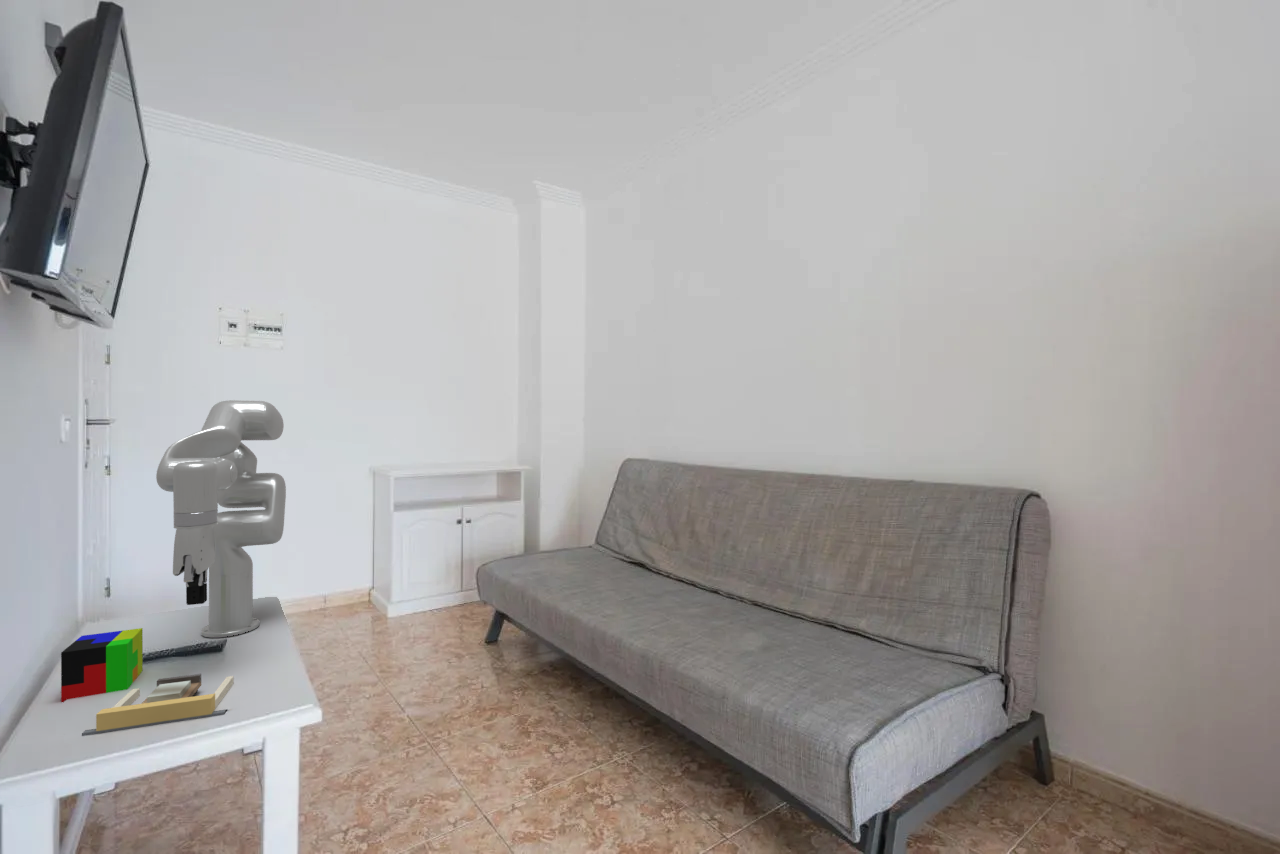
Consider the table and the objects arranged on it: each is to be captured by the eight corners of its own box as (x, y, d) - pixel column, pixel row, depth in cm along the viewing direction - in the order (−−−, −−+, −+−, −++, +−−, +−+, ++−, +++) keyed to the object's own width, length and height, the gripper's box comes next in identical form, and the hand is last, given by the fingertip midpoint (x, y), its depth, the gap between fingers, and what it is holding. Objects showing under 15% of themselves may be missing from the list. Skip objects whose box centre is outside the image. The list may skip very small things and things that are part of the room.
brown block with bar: (158, 696, 114) (158, 678, 113) (201, 691, 116) (201, 673, 116) (137, 718, 105) (137, 699, 105) (184, 712, 108) (184, 693, 108)
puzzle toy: (81, 682, 121) (81, 635, 121) (142, 673, 126) (142, 628, 126) (61, 703, 112) (61, 652, 112) (127, 692, 117) (127, 643, 117)
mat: (147, 674, 125) (147, 659, 125) (260, 660, 132) (260, 646, 132) (81, 735, 100) (81, 716, 100) (224, 714, 108) (224, 696, 108)
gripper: (188, 513, 128) (188, 594, 129) (159, 526, 114) (160, 617, 115) (227, 512, 131) (228, 590, 132) (204, 524, 117) (205, 612, 118)
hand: (196, 602), depth 123 cm, fingers closed
